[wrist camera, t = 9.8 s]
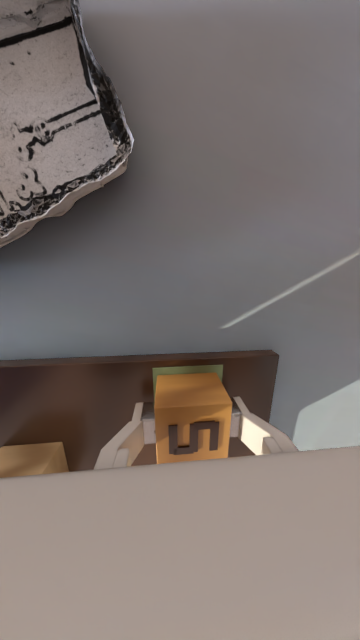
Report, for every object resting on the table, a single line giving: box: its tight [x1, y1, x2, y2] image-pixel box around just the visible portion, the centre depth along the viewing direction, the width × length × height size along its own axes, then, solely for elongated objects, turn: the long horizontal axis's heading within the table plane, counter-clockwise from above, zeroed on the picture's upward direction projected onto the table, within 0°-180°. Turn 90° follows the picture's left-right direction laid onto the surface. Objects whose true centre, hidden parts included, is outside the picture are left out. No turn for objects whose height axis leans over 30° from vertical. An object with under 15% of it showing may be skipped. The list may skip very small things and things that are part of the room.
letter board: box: [0, 350, 279, 478], centre depth 12 cm, size 26×12×4 cm, turn 90°
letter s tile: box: [154, 372, 232, 464], centre depth 11 cm, size 4×4×3 cm
